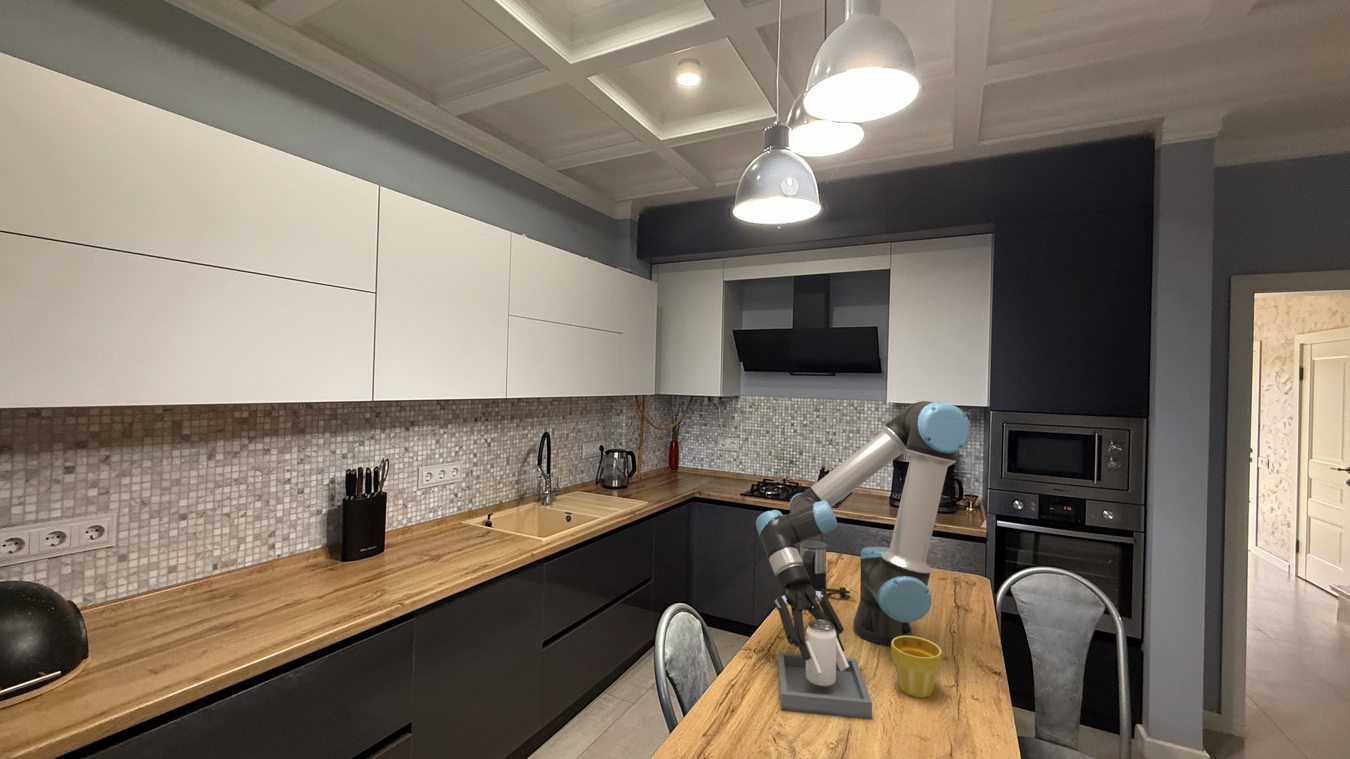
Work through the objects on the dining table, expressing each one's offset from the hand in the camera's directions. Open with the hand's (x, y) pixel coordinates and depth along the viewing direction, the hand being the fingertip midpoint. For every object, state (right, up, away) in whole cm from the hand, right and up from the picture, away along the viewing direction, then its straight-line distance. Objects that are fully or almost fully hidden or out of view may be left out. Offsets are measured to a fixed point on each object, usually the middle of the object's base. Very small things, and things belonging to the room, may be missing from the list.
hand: (831, 671), depth 117 cm
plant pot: (+20, -6, +4) cm, 21 cm away
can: (-1, -4, +3) cm, 5 cm away
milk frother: (+15, -7, +62) cm, 64 cm away
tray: (-1, -6, +3) cm, 7 cm away
